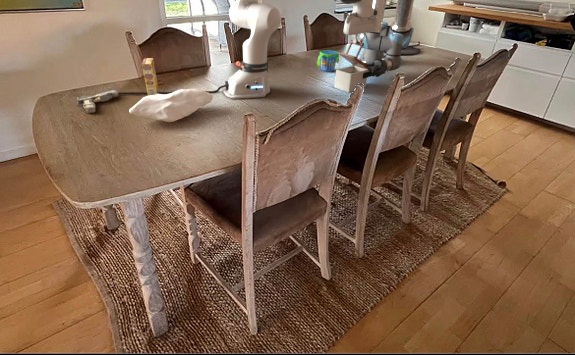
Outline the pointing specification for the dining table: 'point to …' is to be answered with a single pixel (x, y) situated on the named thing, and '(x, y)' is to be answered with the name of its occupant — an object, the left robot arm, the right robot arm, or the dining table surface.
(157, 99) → the crumpled cloth
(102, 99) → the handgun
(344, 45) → the dining table surface
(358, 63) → the lid
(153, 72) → the candy box
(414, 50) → the grey round tray
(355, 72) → the chest
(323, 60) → the snack cup
